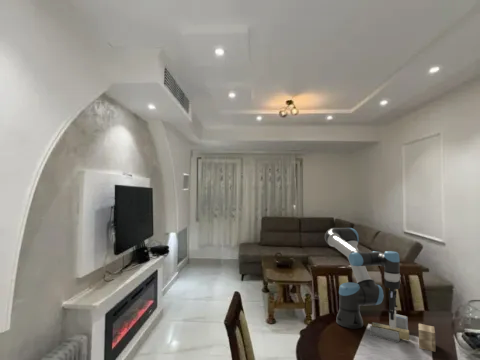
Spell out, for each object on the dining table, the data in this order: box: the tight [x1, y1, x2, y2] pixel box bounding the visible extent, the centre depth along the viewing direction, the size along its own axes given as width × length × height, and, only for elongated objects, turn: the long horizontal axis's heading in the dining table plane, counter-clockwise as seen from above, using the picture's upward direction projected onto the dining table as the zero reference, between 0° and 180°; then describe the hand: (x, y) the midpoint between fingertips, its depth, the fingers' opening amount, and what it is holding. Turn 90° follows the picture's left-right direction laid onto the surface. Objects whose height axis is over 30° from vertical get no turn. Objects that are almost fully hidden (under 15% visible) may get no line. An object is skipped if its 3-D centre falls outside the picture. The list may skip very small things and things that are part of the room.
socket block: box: [418, 323, 436, 353], centre depth 151 cm, size 7×9×9 cm
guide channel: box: [369, 321, 401, 343], centre depth 161 cm, size 14×7×5 cm, turn 59°
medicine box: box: [396, 313, 409, 330], centre depth 168 cm, size 8×4×9 cm, turn 47°
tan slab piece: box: [371, 308, 410, 342], centre depth 160 cm, size 18×4×14 cm, turn 59°
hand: (392, 322), depth 160 cm, fingers open, 9 cm apart
